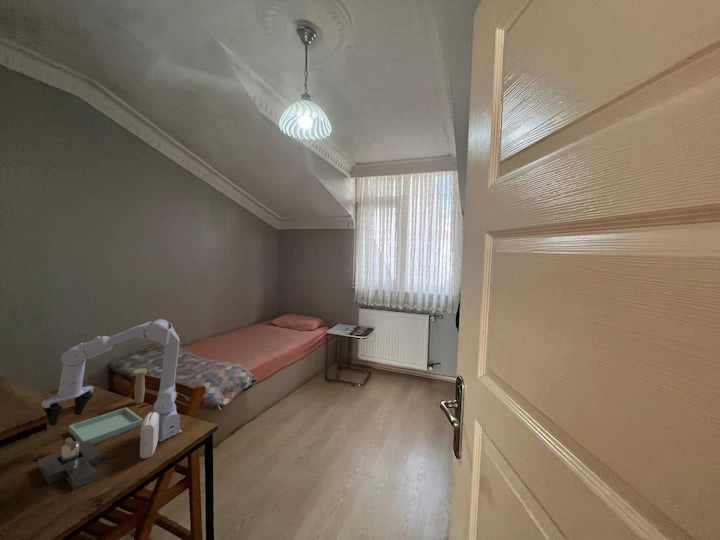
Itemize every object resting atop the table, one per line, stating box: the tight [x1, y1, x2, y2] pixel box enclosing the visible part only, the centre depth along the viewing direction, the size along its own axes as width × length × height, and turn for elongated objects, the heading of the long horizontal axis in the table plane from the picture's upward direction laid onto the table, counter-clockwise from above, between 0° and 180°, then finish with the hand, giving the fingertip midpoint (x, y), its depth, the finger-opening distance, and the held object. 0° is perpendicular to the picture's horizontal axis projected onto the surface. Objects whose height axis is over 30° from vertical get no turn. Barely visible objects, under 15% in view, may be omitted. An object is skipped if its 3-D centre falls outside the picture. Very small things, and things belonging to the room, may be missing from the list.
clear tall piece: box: [61, 436, 79, 465], centre depth 94 cm, size 6×4×8 cm, turn 58°
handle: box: [133, 367, 148, 405], centre depth 135 cm, size 5×6×15 cm
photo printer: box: [139, 411, 159, 459], centre depth 104 cm, size 10×4×12 cm, turn 25°
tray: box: [68, 406, 144, 446], centre depth 114 cm, size 16×18×2 cm
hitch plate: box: [37, 441, 102, 490], centre depth 92 cm, size 20×12×2 cm, turn 58°
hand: (65, 419), depth 102 cm, fingers open, 7 cm apart
